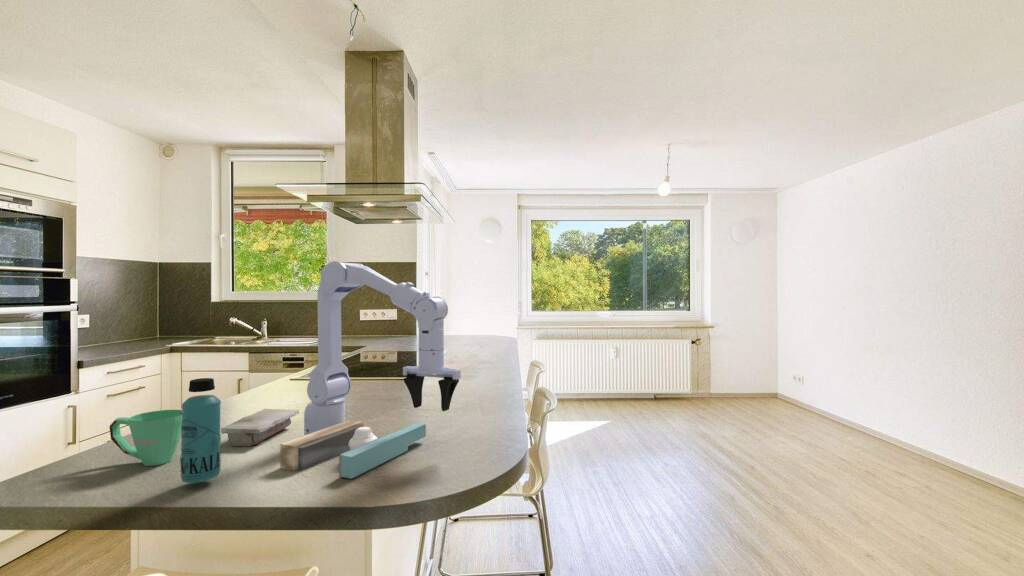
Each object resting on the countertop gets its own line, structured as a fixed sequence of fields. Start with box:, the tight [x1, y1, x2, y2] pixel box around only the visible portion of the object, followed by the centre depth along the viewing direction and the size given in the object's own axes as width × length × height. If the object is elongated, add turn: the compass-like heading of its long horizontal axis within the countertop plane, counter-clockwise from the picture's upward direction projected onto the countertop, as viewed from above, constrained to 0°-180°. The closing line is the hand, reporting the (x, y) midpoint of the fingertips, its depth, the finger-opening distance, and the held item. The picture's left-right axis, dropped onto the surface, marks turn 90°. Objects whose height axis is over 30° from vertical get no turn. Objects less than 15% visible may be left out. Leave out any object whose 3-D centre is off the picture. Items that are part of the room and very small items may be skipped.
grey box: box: [220, 408, 300, 447], centre depth 121 cm, size 18×5×10 cm
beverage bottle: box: [179, 377, 222, 484], centre depth 91 cm, size 6×7×20 cm
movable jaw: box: [338, 422, 427, 479], centre depth 104 cm, size 3×25×4 cm, turn 156°
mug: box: [108, 409, 182, 467], centre depth 103 cm, size 15×10×10 cm
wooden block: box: [279, 419, 365, 472], centre depth 107 cm, size 5×20×5 cm, turn 156°
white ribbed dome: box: [348, 426, 379, 450], centre depth 104 cm, size 6×6×7 cm
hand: (431, 408), depth 110 cm, fingers open, 7 cm apart
